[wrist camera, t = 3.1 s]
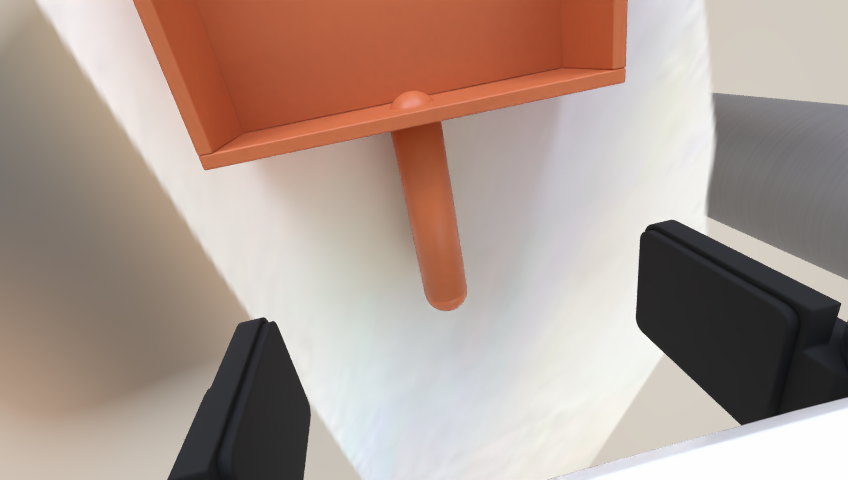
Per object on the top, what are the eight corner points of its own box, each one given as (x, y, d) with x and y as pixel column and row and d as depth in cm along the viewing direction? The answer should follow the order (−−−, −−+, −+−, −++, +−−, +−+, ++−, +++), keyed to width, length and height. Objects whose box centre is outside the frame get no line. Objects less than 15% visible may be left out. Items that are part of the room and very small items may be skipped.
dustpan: (88, -259, 12) (-40, -409, 8) (558, -329, 13) (642, -494, 9) (301, 314, 22) (288, 372, 18) (573, 251, 22) (619, 292, 18)
